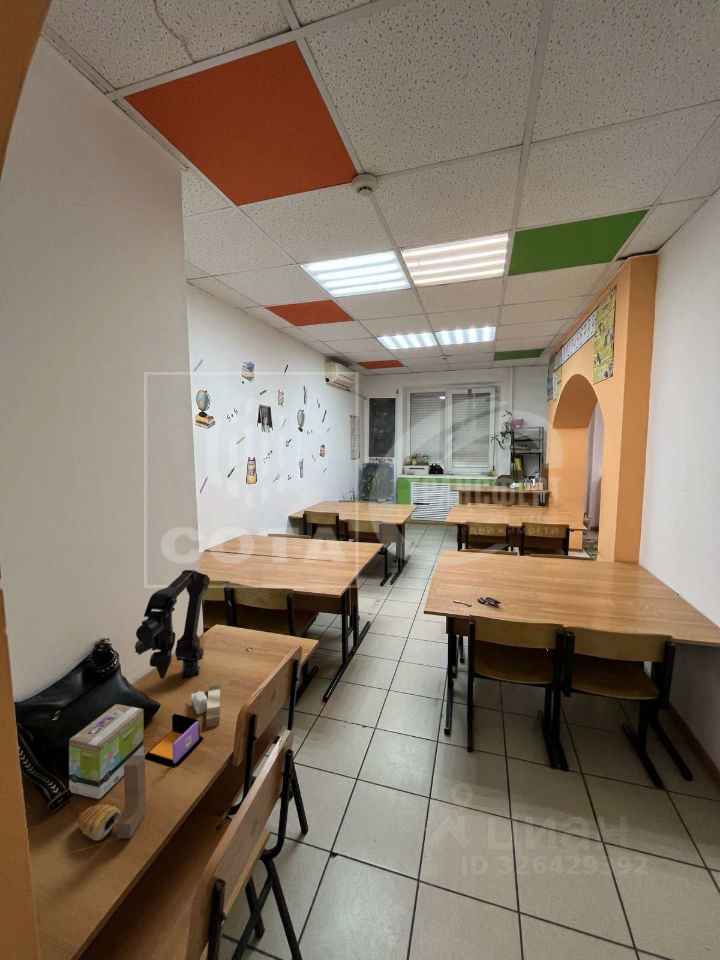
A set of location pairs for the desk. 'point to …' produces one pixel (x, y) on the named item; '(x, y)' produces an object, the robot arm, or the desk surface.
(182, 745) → the business card holder
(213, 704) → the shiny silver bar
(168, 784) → the desk surface
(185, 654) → the robot arm
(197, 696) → the power adapter
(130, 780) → the wooden block
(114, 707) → the tea box
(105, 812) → the pastry
